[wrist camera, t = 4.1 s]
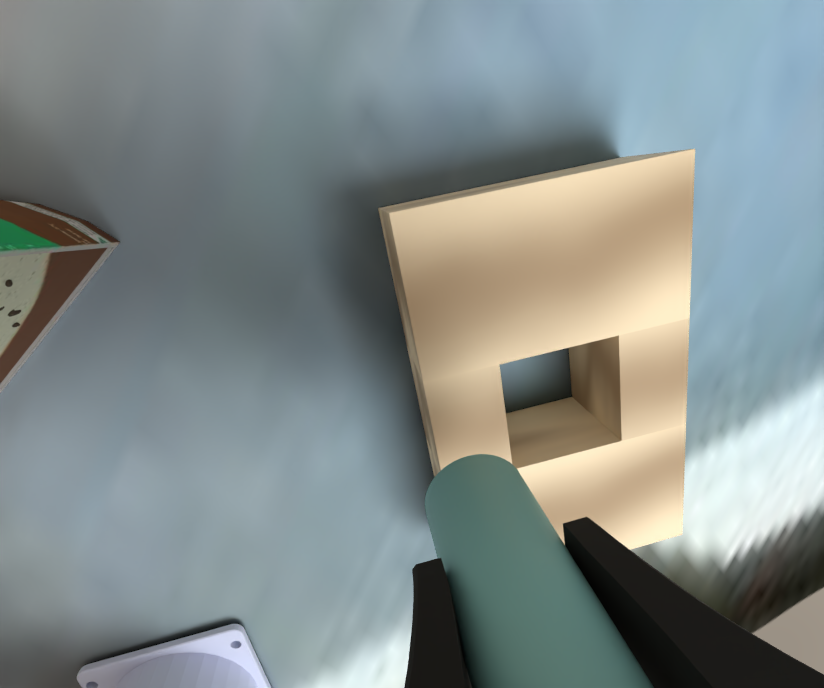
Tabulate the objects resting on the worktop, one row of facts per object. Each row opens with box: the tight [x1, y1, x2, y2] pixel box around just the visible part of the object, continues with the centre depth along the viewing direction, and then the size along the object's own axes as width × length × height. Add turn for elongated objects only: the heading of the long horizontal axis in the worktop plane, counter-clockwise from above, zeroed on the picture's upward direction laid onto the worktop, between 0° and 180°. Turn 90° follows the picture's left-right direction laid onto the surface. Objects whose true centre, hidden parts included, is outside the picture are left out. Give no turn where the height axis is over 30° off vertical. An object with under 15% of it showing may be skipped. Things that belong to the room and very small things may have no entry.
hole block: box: [378, 149, 695, 550], centre depth 18 cm, size 16×10×4 cm, turn 11°
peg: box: [425, 454, 654, 688], centre depth 9 cm, size 3×3×9 cm
